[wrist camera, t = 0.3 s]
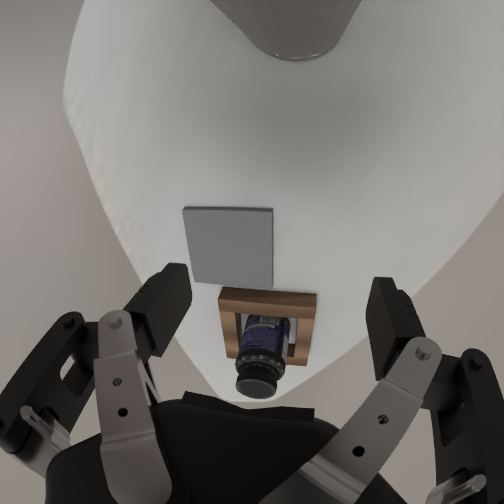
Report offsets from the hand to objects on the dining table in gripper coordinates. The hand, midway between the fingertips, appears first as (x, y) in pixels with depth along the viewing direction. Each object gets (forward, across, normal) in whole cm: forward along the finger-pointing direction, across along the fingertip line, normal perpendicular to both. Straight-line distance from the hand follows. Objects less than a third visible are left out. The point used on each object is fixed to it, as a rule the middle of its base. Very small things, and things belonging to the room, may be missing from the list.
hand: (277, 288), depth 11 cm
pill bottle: (+19, +3, +20) cm, 28 cm away
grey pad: (+18, +7, +8) cm, 21 cm away
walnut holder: (+19, +3, +20) cm, 28 cm away
